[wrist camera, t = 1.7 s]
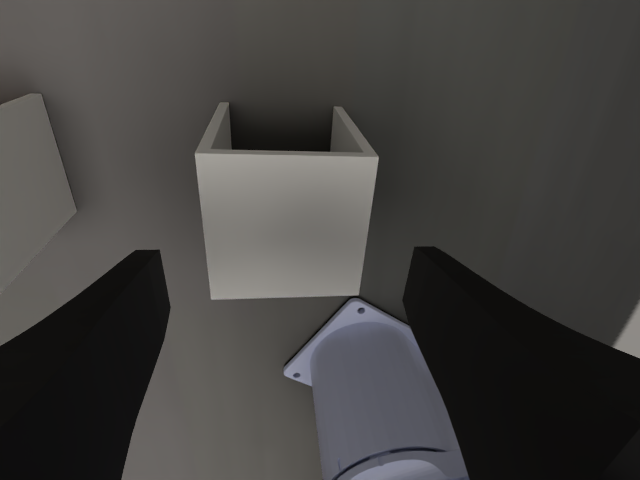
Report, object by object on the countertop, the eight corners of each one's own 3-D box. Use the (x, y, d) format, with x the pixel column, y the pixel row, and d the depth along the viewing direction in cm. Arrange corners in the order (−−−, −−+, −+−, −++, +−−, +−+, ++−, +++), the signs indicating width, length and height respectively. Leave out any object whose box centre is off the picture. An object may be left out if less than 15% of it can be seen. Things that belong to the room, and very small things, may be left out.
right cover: (341, 106, 18) (379, 157, 12) (332, 212, 21) (358, 295, 15) (219, 102, 17) (194, 153, 11) (227, 212, 20) (211, 299, 14)
